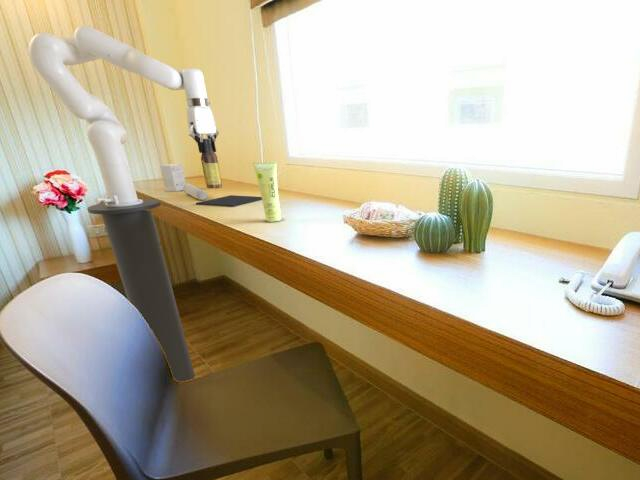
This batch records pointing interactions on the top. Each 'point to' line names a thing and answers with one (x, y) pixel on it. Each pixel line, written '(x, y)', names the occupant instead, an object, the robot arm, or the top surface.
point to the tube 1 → (195, 192)
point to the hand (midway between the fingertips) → (207, 151)
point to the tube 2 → (268, 189)
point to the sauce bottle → (211, 166)
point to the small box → (173, 177)
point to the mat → (230, 201)
